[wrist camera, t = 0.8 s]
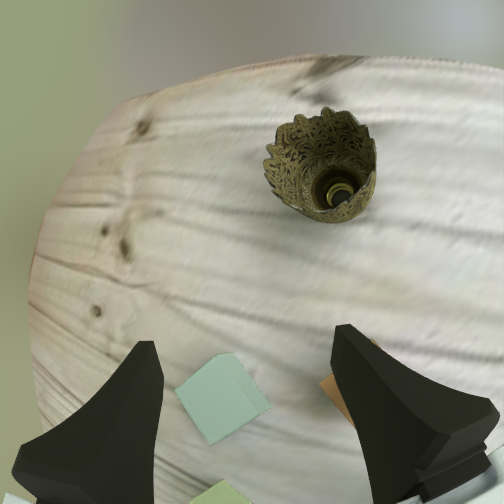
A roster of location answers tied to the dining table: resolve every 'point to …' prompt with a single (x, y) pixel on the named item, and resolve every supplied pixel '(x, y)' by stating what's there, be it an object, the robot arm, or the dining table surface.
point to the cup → (323, 165)
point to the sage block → (220, 495)
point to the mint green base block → (221, 397)
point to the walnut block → (336, 394)
